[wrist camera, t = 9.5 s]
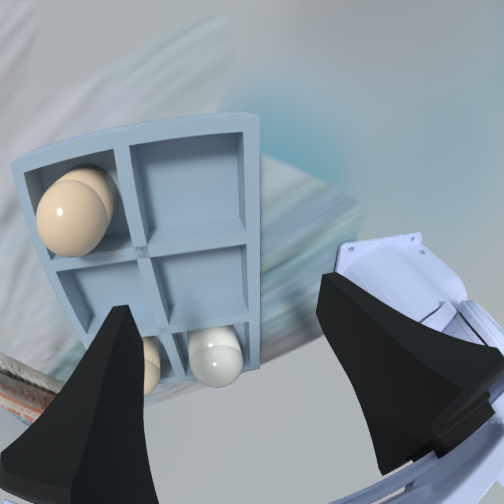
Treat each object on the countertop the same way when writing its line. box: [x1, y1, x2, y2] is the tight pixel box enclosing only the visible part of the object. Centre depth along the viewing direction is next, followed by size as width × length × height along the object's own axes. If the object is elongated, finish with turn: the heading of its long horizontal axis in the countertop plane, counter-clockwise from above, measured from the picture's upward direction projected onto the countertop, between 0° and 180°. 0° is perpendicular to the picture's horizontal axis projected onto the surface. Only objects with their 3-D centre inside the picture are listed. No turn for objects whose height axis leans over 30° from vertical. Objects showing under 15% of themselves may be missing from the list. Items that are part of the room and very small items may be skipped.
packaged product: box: [0, 352, 66, 422], centre depth 21 cm, size 18×5×10 cm
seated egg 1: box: [142, 335, 160, 396], centre depth 19 cm, size 4×4×5 cm
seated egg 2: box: [187, 324, 243, 388], centre depth 20 cm, size 4×4×5 cm
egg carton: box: [10, 112, 260, 384], centre depth 18 cm, size 14×20×3 cm
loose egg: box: [36, 164, 118, 258], centre depth 12 cm, size 4×4×5 cm
